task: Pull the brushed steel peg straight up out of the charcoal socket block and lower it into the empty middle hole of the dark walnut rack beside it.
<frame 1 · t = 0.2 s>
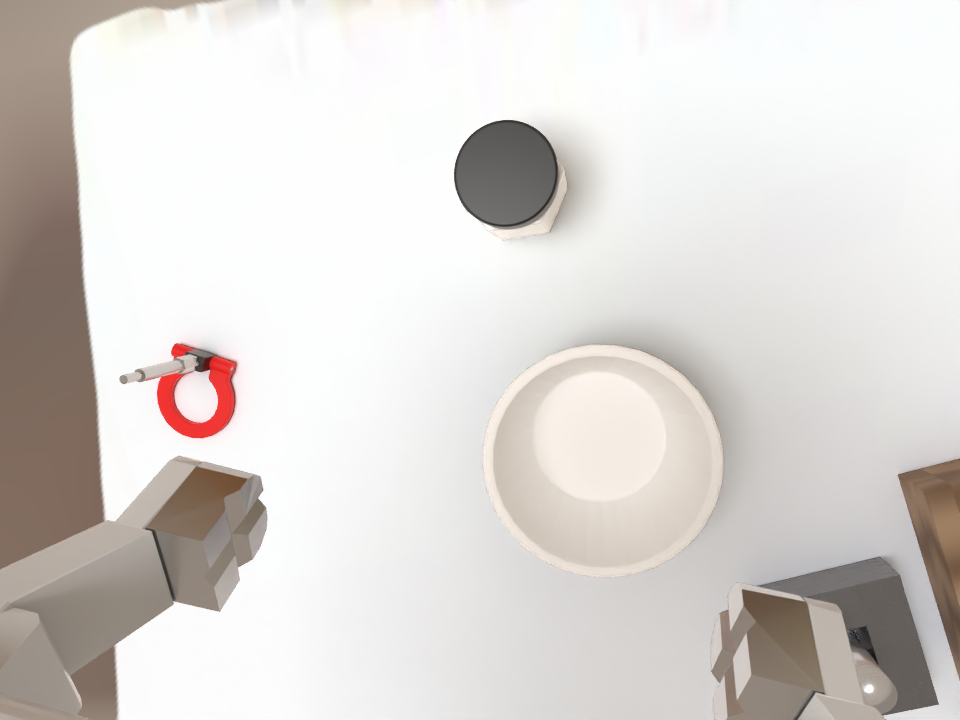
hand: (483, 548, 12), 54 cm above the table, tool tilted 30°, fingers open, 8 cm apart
steel peg: (851, 661, 59), in the socket block
tow hook: (201, 393, 71), on the table
bowl: (597, 435, 65), on the table
socket block: (831, 633, 64), on the table
jar: (520, 195, 64), on the table
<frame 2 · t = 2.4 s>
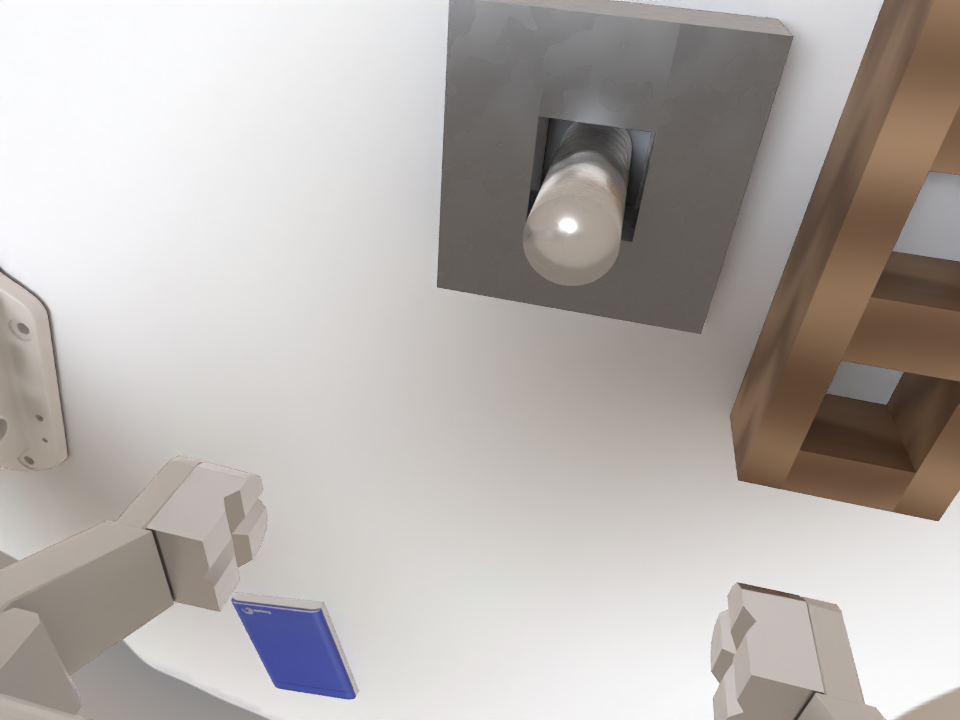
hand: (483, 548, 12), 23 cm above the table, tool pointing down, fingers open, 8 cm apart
hard drive: (302, 635, 60), on the table
steel peg: (584, 189, 26), in the socket block
socket block: (595, 151, 30), on the table
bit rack: (928, 199, 29), on the table
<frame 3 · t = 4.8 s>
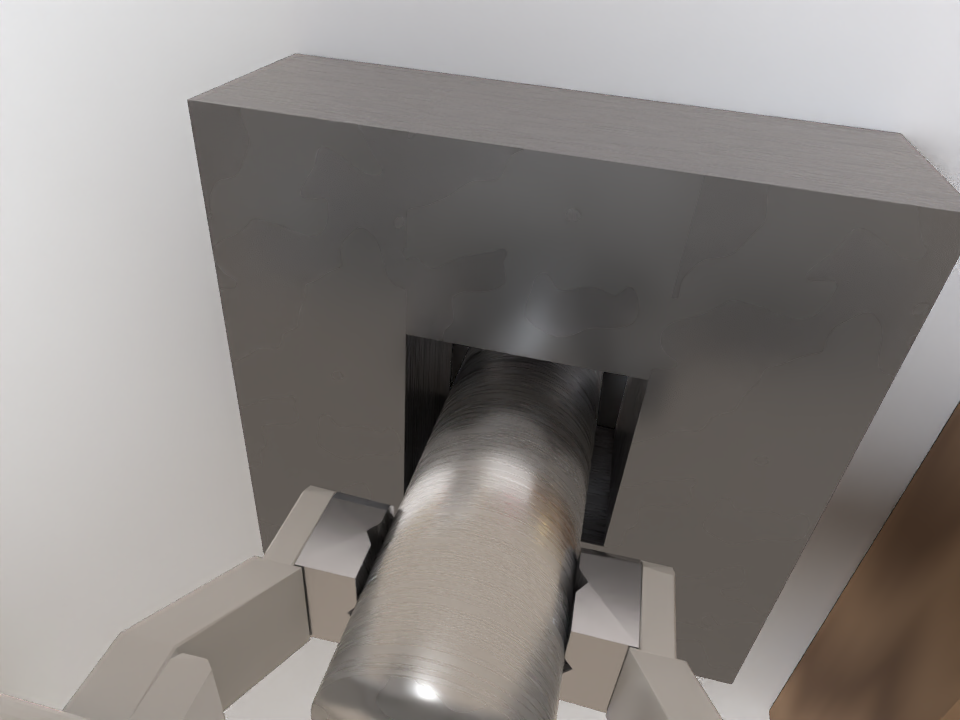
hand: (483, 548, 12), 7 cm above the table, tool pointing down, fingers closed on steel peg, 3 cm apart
steel peg: (502, 482, 13), in the socket block, touching gripper
socket block: (541, 342, 17), on the table
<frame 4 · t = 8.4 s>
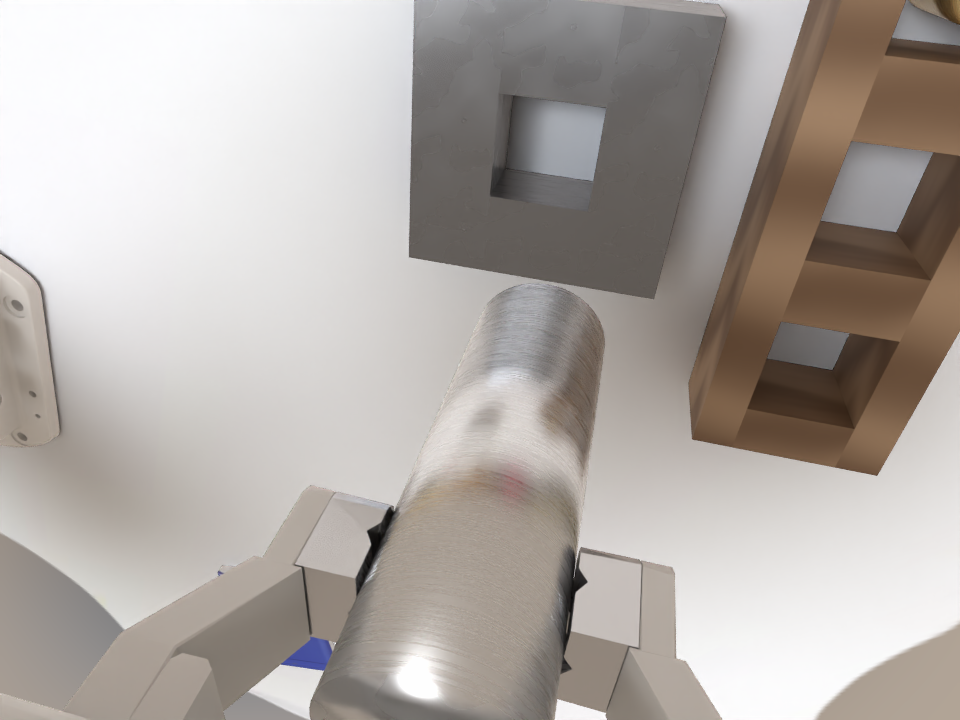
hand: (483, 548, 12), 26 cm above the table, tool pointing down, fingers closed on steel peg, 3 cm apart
hard drive: (287, 609, 62), on the table
steel peg: (500, 480, 13), point 24 cm above the table, touching gripper
socket block: (556, 129, 33), on the table
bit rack: (861, 172, 31), on the table
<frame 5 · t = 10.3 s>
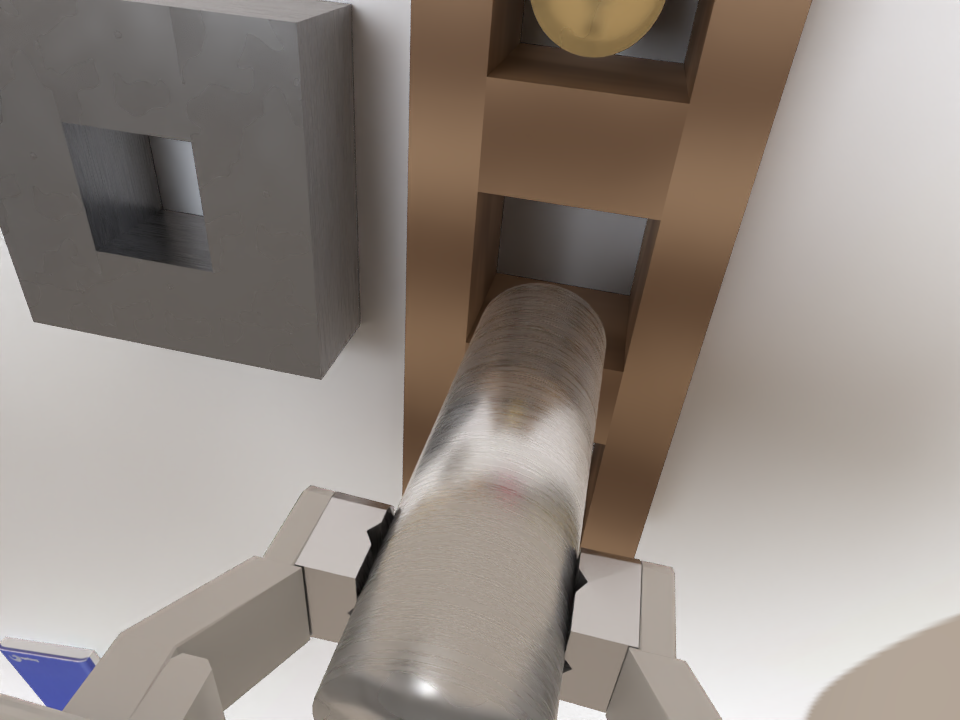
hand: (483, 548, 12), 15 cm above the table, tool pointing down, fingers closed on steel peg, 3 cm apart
hard drive: (90, 681, 55), on the table
steel peg: (502, 479, 13), point 13 cm above the table, touching gripper
socket block: (205, 162, 26), on the table
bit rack: (572, 221, 24), on the table
when the fingers open (8 cm above the table, at t = 12.1 s): steel peg drops 1 cm, resting in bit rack.
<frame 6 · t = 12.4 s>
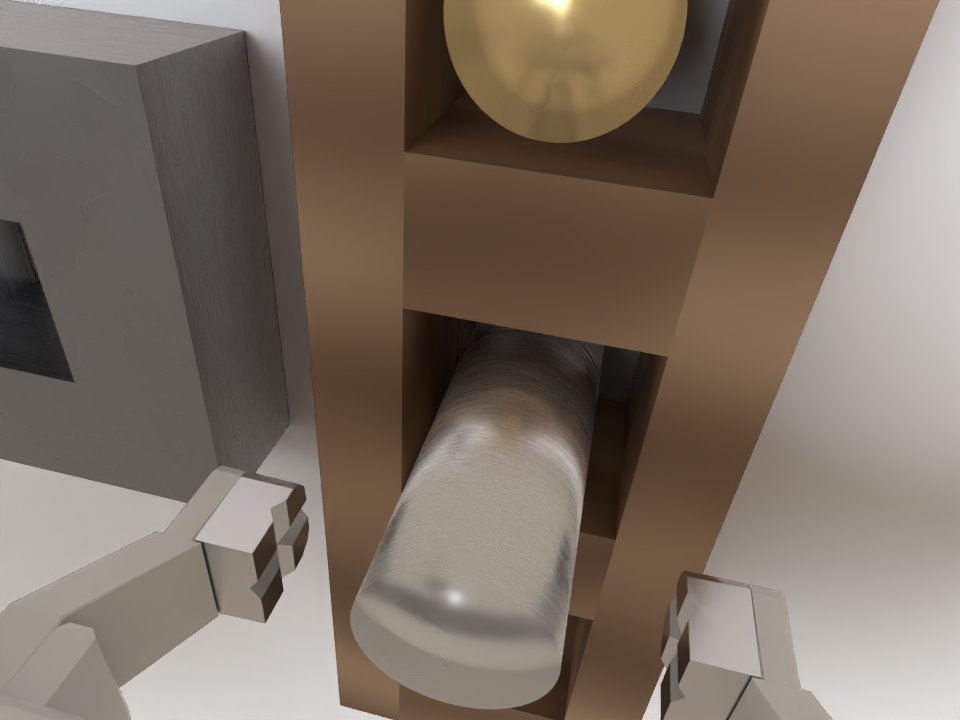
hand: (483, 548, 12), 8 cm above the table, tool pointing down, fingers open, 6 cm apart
steel peg: (513, 431, 14), in the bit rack
socket block: (81, 229, 20), on the table
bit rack: (550, 313, 18), on the table
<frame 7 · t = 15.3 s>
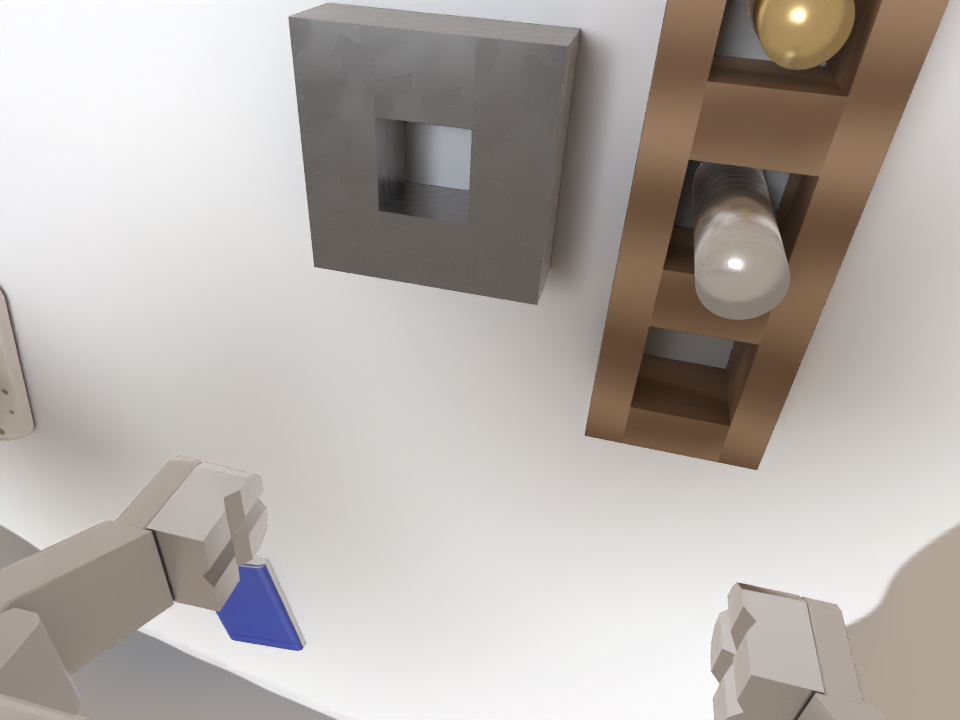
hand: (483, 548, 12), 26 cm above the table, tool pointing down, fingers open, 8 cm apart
hard drive: (253, 591, 65), on the table
steel peg: (733, 225, 28), in the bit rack
socket block: (446, 145, 35), on the table
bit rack: (729, 183, 32), on the table
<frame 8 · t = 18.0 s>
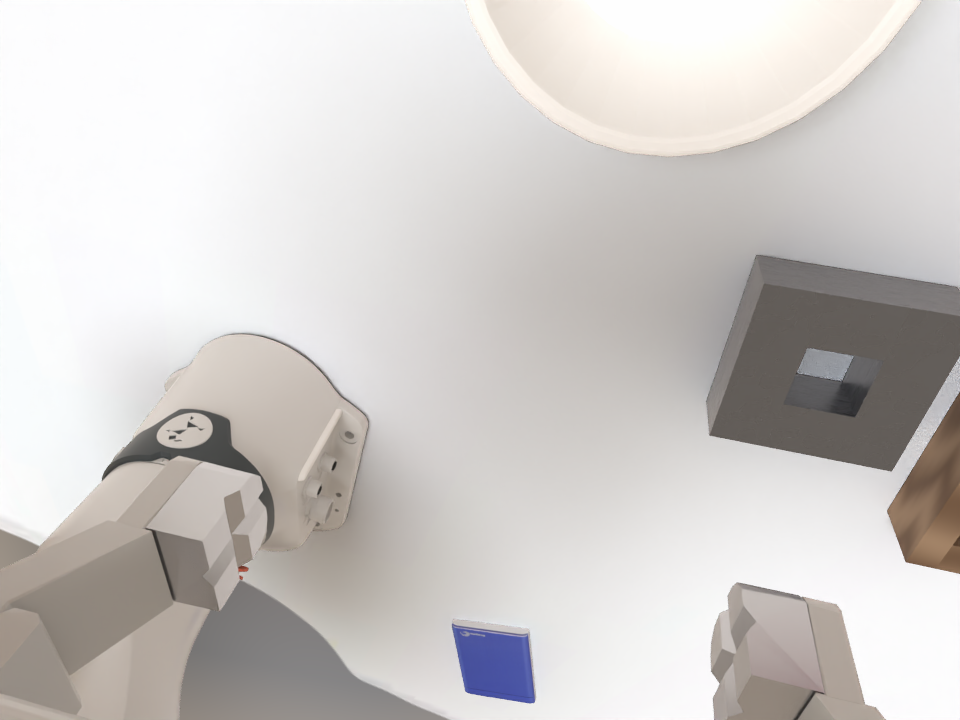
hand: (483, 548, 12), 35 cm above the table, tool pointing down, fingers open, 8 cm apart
hard drive: (497, 652, 76), on the table
socket block: (820, 349, 46), on the table
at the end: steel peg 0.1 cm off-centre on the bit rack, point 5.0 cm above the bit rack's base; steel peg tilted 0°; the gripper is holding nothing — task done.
